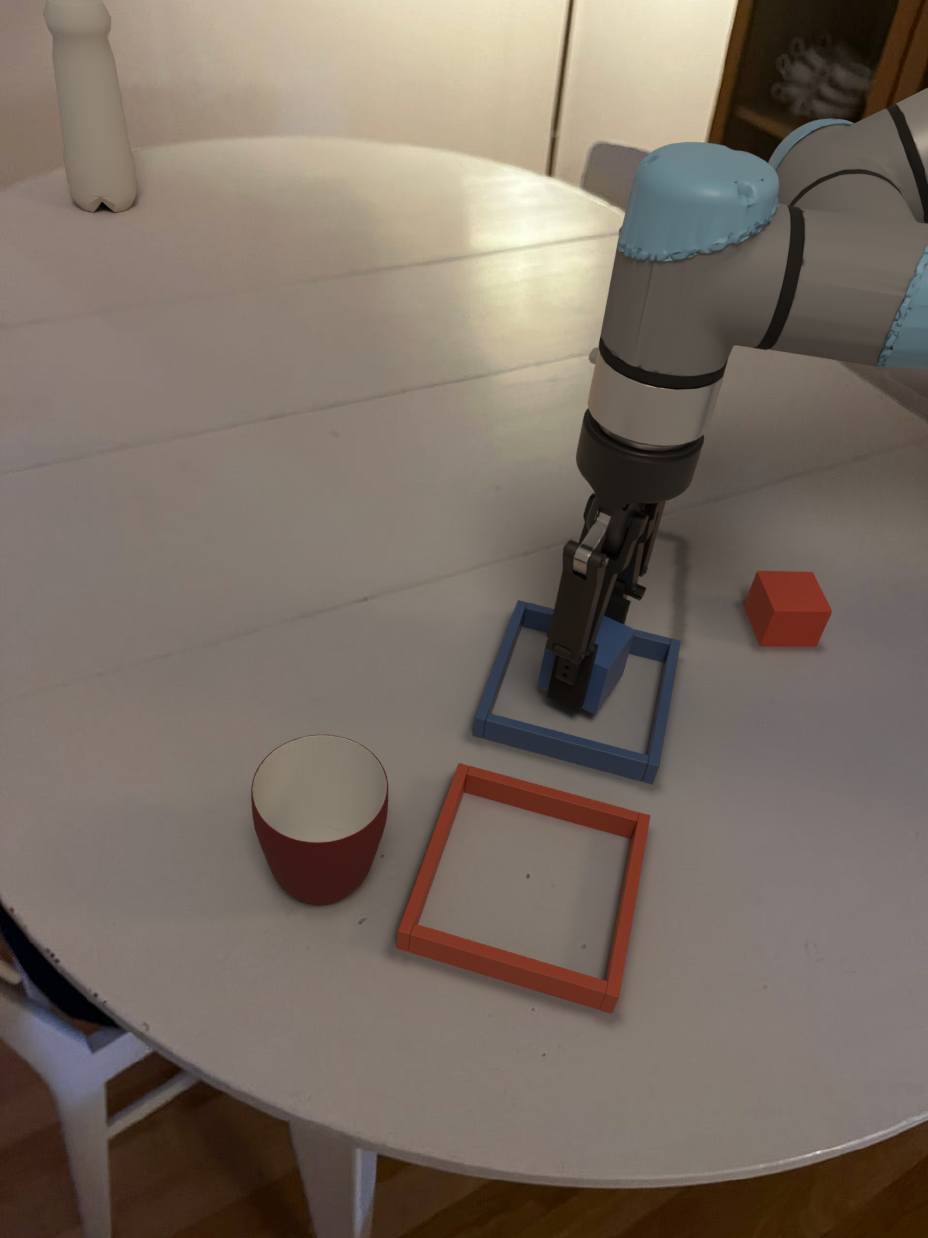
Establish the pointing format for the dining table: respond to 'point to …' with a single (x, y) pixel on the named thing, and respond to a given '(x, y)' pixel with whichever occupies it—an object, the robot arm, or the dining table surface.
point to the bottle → (90, 106)
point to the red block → (787, 609)
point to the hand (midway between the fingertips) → (581, 678)
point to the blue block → (599, 663)
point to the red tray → (504, 962)
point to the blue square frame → (567, 744)
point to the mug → (320, 815)
